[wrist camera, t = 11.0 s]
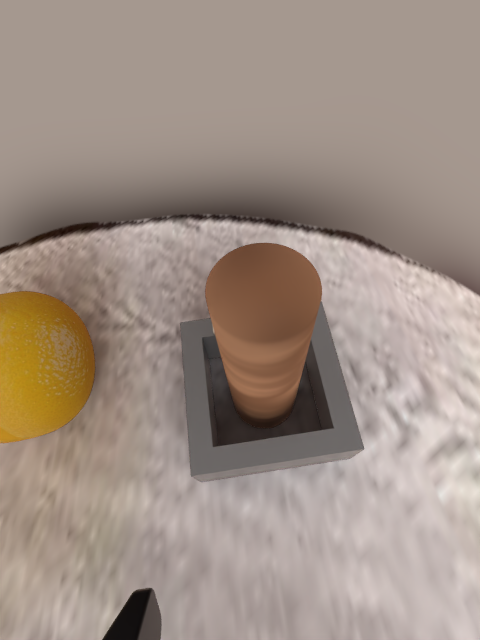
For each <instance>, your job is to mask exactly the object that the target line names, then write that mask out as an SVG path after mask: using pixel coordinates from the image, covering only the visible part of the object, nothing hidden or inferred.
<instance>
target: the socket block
mask: <svg viewBox="0 0 480 640" xmlns="http://www.w3.org/2000/svg"><path fill="white" fill-rule="evenodd" d="M180 327H181V341H182V355H183V369H184V383H185V397H186V411H187V425H188V439H189V454H190V468H191V477H193V478H195V479H197V480H199V481H200V482H205V481H212V480H218V479H224V478H230V477H237V476H243V475H249V474H256V473H262V472H268V471H275V470H281V469H287V468H294V467H300V466H306V465H313V464H319V463H325V462H332V461H338V460H344V459H350V458H352V457H353V456H355V455H356V454H358V453H359V452H361V451H362V450H364V446H363V443H362V439H361V436H360V432H359V429H358V425H357V422H356V419H355V415H354V412H353V408H352V405H351V401H350V398H349V394H348V391H347V387H346V384H345V381H344V377H343V374H342V370H341V367H340V363H339V360H338V356H337V353H336V349H335V346H334V343H333V339H332V336H331V332H330V329H329V325H328V322H327V318H326V315H325V311H324V308H323V305H322V301H321V302H320V306H319V310H318V313H317V317H316V321H315V325H314V329H313V333H312V337H311V340H310V344H309V348H308V352H307V356H306V360H305V362H306V366H307V370H308V374H309V378H310V383H311V387H312V391H313V395H314V399H315V403H316V407H317V412H318V416H319V420H320V424H321V428H322V430H320V431H313V432H307V433H300V434H294V435H288V436H281V437H275V438H268V439H262V440H256V441H249V442H243V443H237V444H230V445H224V446H219V445H218V436H217V427H216V417H215V408H214V399H213V390H212V380H211V371H210V362H209V359H213V358H220V357H221V355H220V351H219V347H218V343H217V340H216V336H215V332H214V328H213V325H212V321H211V318H208V319H201V320H194V321H188V322H181V323H180Z"/></svg>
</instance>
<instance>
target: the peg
mask: <svg viewBox="0 0 480 640" xmlns="http://www.w3.org/2000/svg"><path fill="white" fill-rule="evenodd" d="M321 296H322V286H321V281H320V278H319V275H318V273H317V271H316V269H315V268H314V266H313V265H312V264H311V263H310V262H309V260H308V259H307V258H305V257H304V256H303V255H302V254H300V253H298V252H297V251H295V250H293V249H291V248H289V247H286V246H283V245H278V244H273V243H255V244H250V245H245V246H242V247H239V248H237V249H235V250H233V251H231V252H229V253H228V254H226V255H225V256H224V257H222V258H221V259H220V260H219V261H218V262H217V263H216V265H215V266H214V267H213V269H212V270H211V272H210V274H209V276H208V279H207V283H206V289H205V297H206V302H207V306H208V310H209V314H210V317H211V321H212V325H213V328H214V332H215V336H216V340H217V343H218V347H219V351H220V355H221V358H222V362H223V366H224V370H225V373H226V377H227V381H228V384H229V388H230V392H231V396H232V399H233V403H234V407H235V410H236V412H237V413H238V415H239V416H240V418H241V419H242V420H243V421H245V422H246V423H247V424H249V425H251V426H253V427H257V428H272V427H275V426H277V425H279V424H281V423H282V422H284V421H285V420H286V419H287V418H288V416H289V415H290V413H291V412H292V409H293V406H294V402H295V398H296V395H297V391H298V387H299V383H300V379H301V375H302V371H303V367H304V364H305V360H306V356H307V352H308V348H309V344H310V340H311V337H312V333H313V329H314V325H315V321H316V317H317V313H318V310H319V306H320V302H321Z"/></svg>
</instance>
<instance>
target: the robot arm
mask: <svg viewBox="0 0 480 640" xmlns="http://www.w3.org/2000/svg"><path fill="white" fill-rule="evenodd" d="M160 639H161V613H160V610H159V606H158V603H157V599H156V596H155V592H154V590H153V589H152V588H145V589H138V590H136V591H134V592H133V593H132V595H131V596H130V598H129V599H128V601H127V602H126V604H125V605H124V607H123V608H122V610H121V612H120V613H119V615H118V616H117V618H116V619H115V621H114V622H113V624H112V625H111V627H110V628H109V630H108V632H107V633H106V635H105V636H104V638H103V639H102V640H160Z"/></svg>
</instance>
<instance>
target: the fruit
mask: <svg viewBox="0 0 480 640" xmlns="http://www.w3.org/2000/svg"><path fill="white" fill-rule="evenodd" d="M94 375H95V358H94V351H93V346H92V342H91V339H90V336H89V333H88V331H87V329H86V327H85V325H84V323H83V322H82V320H81V319H80V317H79V316H78V315H77V314H76V313H75V312H74V311H73V310H72V309H71V308H70V307H69V306H68V305H66V304H65V303H63V302H62V301H60V300H58V299H56V298H54V297H51V296H49V295H46V294H42V293H37V292H30V291H19V292H11V293H6V294H0V443H9V442H16V441H21V440H25V439H30V438H34V437H38V436H41V435H44V434H47V433H50V432H53V431H55V430H57V429H59V428H61V427H62V426H64V425H65V424H67V423H68V422H69V421H71V420H72V419H73V418H74V417H75V416H76V415H77V414H78V413H79V412H80V410H81V409H82V408H83V406H84V405H85V403H86V401H87V400H88V397H89V395H90V393H91V390H92V386H93V382H94Z"/></svg>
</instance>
